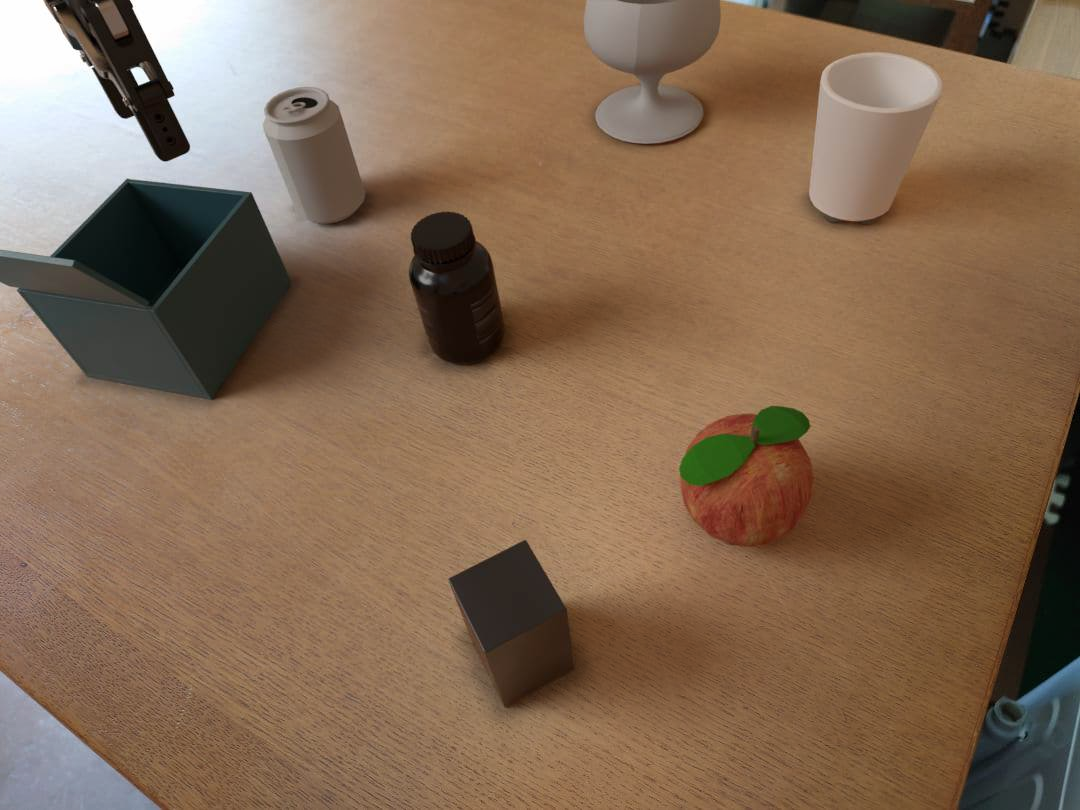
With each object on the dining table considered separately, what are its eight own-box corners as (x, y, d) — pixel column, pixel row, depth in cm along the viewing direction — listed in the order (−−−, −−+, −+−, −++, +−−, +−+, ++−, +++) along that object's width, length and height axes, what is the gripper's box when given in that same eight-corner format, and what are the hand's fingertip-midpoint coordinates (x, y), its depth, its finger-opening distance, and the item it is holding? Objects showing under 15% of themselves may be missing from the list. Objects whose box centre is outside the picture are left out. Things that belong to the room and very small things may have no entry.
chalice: (695, 159, 82) (707, 15, 71) (571, 143, 86) (562, 4, 75) (723, 91, 90) (737, -48, 79) (607, 79, 94) (605, -55, 83)
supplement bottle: (491, 302, 71) (471, 192, 62) (516, 352, 67) (498, 242, 58) (420, 325, 70) (388, 217, 61) (440, 377, 66) (410, 269, 57)
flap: (150, 301, 58) (147, 308, 58) (11, 280, 61) (9, 286, 61) (75, 259, 51) (72, 266, 51) (-77, 238, 54) (-80, 245, 54)
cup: (906, 240, 72) (951, 113, 62) (795, 233, 74) (822, 109, 64) (897, 176, 78) (937, 51, 68) (795, 171, 80) (819, 50, 70)
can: (381, 193, 83) (350, 88, 74) (339, 235, 79) (301, 129, 70) (326, 179, 86) (290, 75, 77) (283, 219, 82) (239, 114, 73)
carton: (211, 399, 66) (154, 311, 58) (87, 377, 70) (15, 290, 61) (292, 282, 75) (251, 192, 67) (178, 267, 78) (126, 178, 70)
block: (504, 708, 48) (484, 653, 41) (471, 640, 51) (447, 578, 44) (575, 669, 49) (567, 609, 42) (538, 605, 52) (525, 538, 45)
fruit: (829, 541, 53) (864, 457, 46) (703, 589, 52) (717, 511, 44) (765, 447, 59) (786, 358, 51) (649, 488, 57) (652, 403, 49)
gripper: (-82, -139, 45) (73, 121, 57) (-35, -97, 37) (135, 196, 49) (47, -173, 48) (170, 82, 60) (118, -141, 40) (243, 147, 52)
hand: (154, 133), depth 54 cm, fingers open, 8 cm apart
